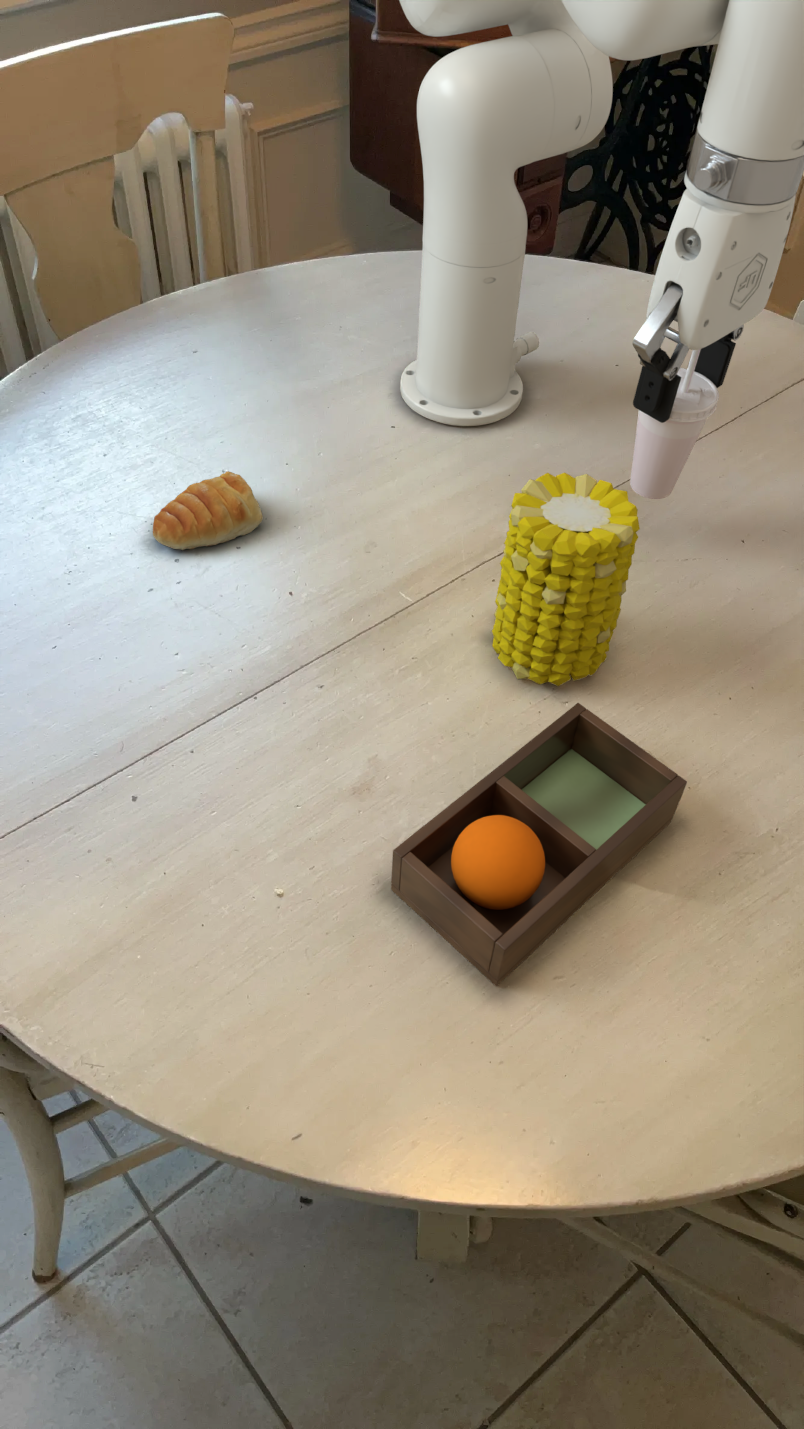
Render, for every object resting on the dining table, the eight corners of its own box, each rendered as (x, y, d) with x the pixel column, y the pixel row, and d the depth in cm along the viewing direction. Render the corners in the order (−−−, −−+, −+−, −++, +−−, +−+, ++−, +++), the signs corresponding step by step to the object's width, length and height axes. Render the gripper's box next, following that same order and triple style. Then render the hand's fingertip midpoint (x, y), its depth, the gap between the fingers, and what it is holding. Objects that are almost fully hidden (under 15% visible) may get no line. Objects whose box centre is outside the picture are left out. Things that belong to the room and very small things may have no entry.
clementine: (490, 833, 72) (499, 780, 68) (557, 888, 70) (571, 838, 65) (429, 884, 69) (434, 833, 65) (496, 944, 67) (506, 895, 62)
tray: (390, 889, 70) (392, 850, 66) (567, 744, 79) (578, 702, 75) (496, 987, 66) (504, 950, 62) (671, 822, 74) (688, 781, 71)
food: (483, 693, 84) (511, 614, 90) (632, 705, 80) (650, 622, 87) (457, 533, 74) (491, 457, 80) (627, 538, 70) (648, 458, 76)
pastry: (178, 568, 90) (172, 533, 87) (138, 528, 93) (131, 493, 90) (270, 526, 94) (267, 491, 91) (228, 489, 97) (224, 454, 94)
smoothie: (642, 517, 89) (686, 370, 78) (599, 473, 92) (635, 326, 81) (703, 497, 91) (753, 351, 80) (659, 455, 94) (701, 309, 83)
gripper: (716, 225, 65) (649, 462, 79) (860, 150, 73) (776, 377, 87) (621, 181, 68) (572, 416, 82) (769, 114, 76) (702, 338, 90)
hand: (677, 394), depth 84 cm, fingers closed on smoothie, 6 cm apart
